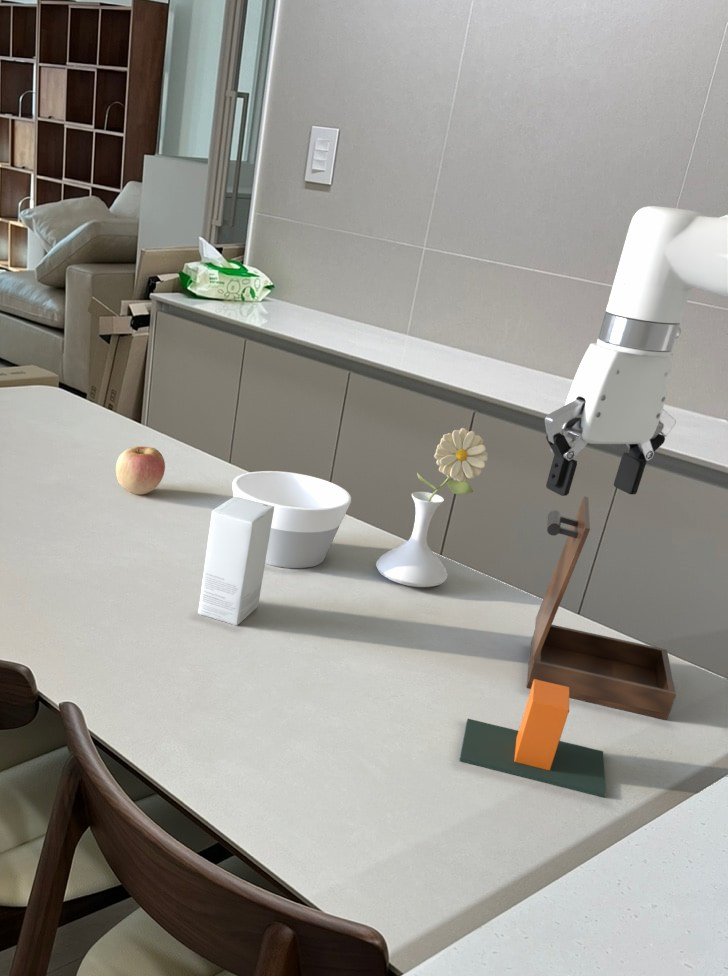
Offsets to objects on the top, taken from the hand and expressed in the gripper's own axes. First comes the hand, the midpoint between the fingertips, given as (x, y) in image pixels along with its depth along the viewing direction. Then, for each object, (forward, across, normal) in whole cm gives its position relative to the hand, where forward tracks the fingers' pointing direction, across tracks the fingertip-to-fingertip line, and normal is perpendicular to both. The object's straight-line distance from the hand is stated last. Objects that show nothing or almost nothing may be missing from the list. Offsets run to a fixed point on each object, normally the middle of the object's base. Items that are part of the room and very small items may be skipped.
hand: (590, 491), depth 120 cm
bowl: (+29, +8, -55) cm, 62 cm away
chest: (+29, -16, -6) cm, 33 cm away
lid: (+15, -10, -10) cm, 21 cm away
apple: (+29, +23, -86) cm, 93 cm away
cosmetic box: (+29, +27, -34) cm, 52 cm away
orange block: (+28, +7, +10) cm, 31 cm away
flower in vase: (+29, -9, -41) cm, 51 cm away
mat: (+29, +6, +10) cm, 31 cm away
